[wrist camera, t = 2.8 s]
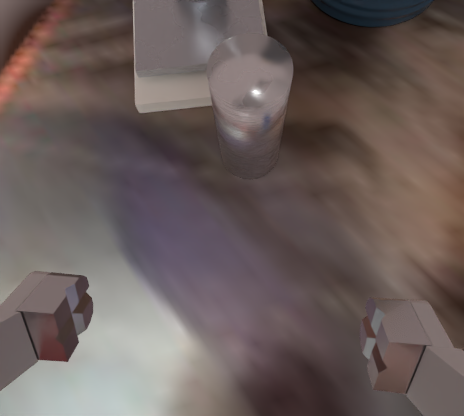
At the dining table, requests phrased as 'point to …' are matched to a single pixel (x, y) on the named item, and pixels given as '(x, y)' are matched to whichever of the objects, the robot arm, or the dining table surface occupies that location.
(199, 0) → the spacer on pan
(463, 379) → the robot arm
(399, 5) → the canister
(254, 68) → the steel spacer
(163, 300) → the dining table surface
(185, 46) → the grey square plate
